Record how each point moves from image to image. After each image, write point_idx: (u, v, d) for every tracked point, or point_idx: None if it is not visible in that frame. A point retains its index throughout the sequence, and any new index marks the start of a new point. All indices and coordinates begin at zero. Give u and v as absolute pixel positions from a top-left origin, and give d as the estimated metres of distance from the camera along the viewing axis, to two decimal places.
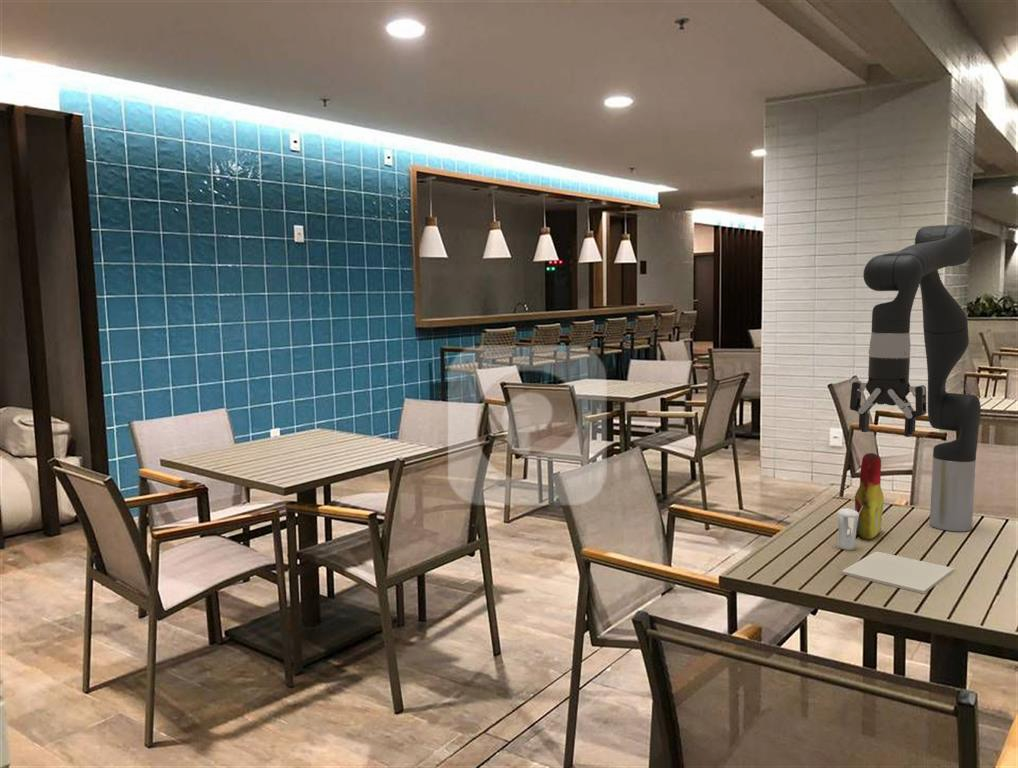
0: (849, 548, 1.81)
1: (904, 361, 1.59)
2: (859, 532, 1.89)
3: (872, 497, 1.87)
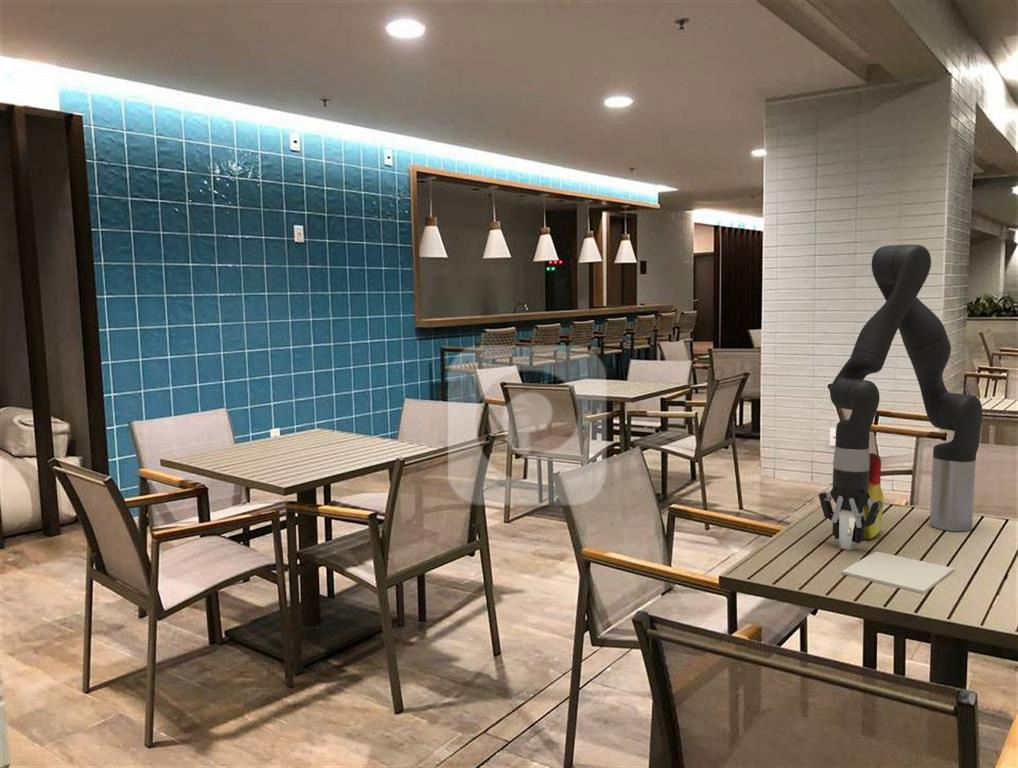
0: (849, 548, 1.81)
1: (863, 474, 1.77)
2: None
3: (872, 497, 1.87)
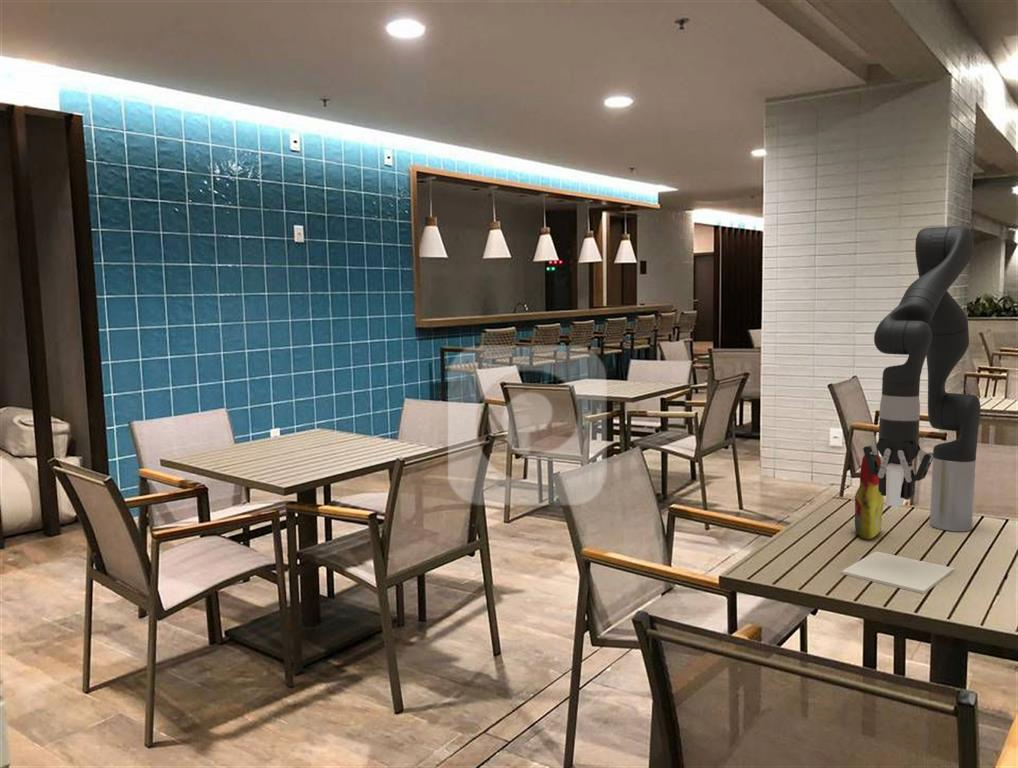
0: (897, 505, 1.67)
1: (914, 423, 1.63)
2: (859, 532, 1.89)
3: (872, 497, 1.87)
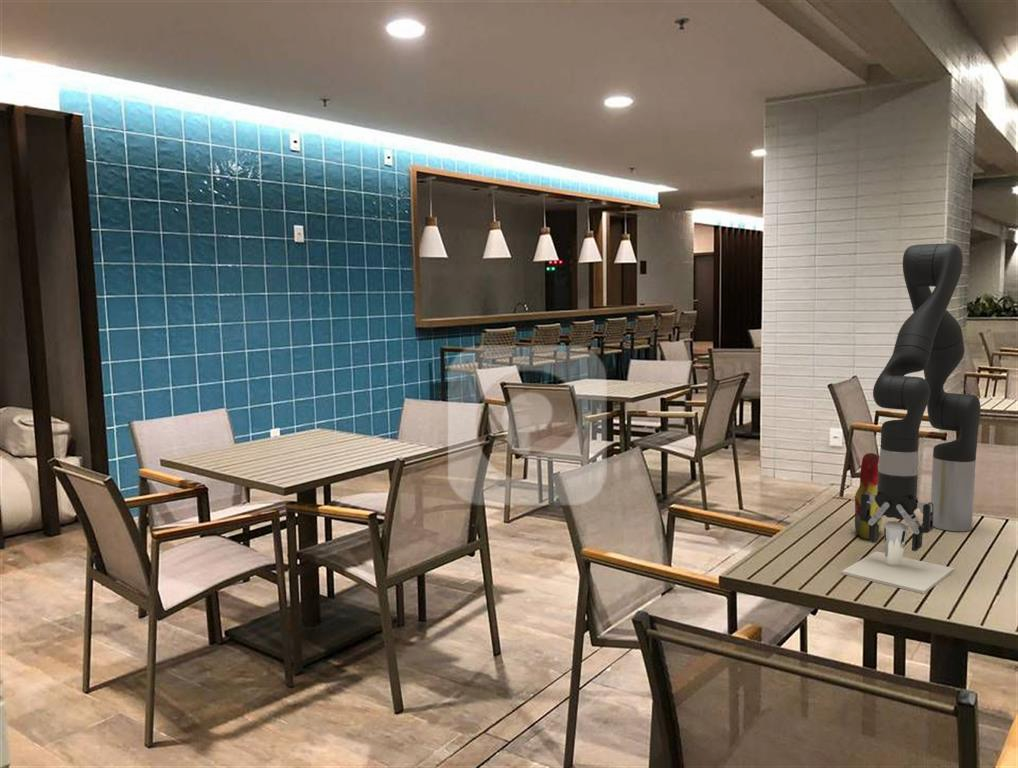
0: (896, 564, 1.68)
1: (912, 479, 1.64)
2: (859, 532, 1.89)
3: None
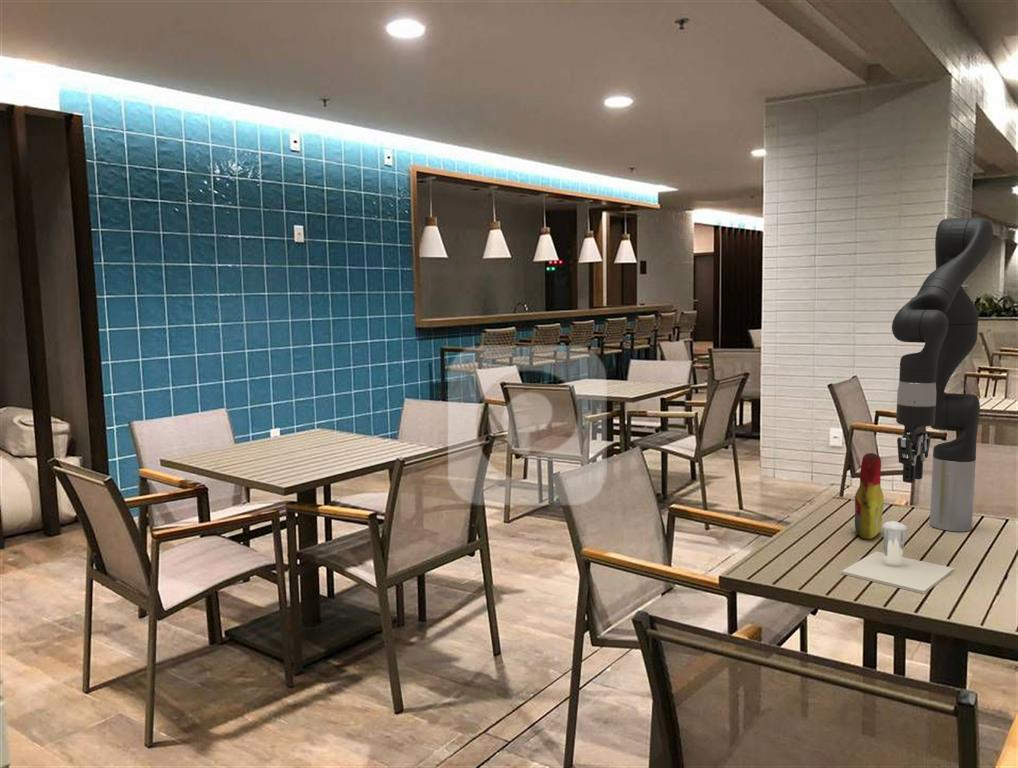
0: (895, 564, 1.68)
1: (903, 408, 1.71)
2: (859, 532, 1.89)
3: (872, 497, 1.87)
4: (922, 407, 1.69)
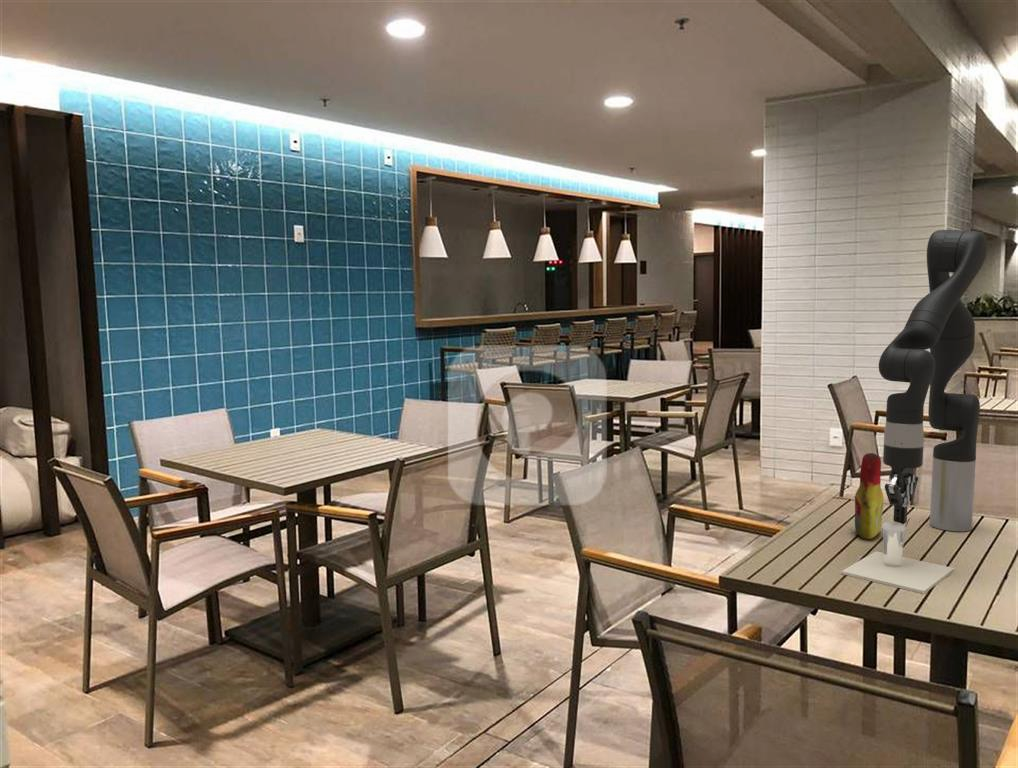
0: (895, 564, 1.68)
1: (890, 449, 1.67)
2: (859, 532, 1.89)
3: (872, 497, 1.87)
4: (909, 449, 1.65)
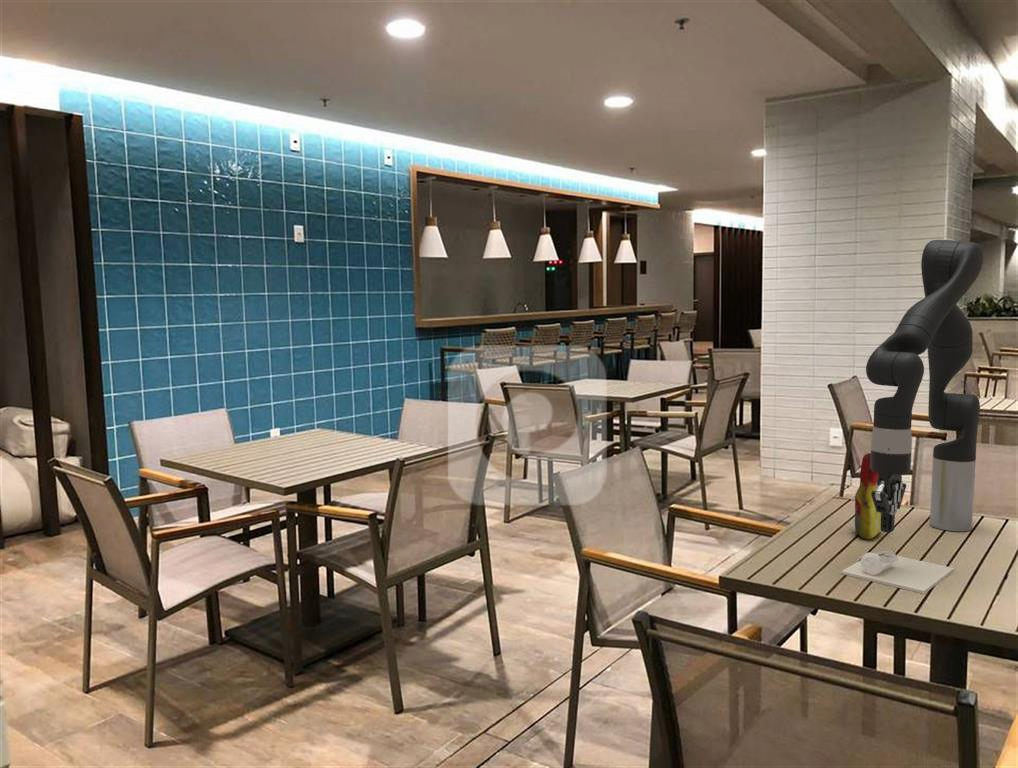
0: None
1: (877, 455, 1.63)
2: (859, 532, 1.89)
3: None
4: (897, 455, 1.60)
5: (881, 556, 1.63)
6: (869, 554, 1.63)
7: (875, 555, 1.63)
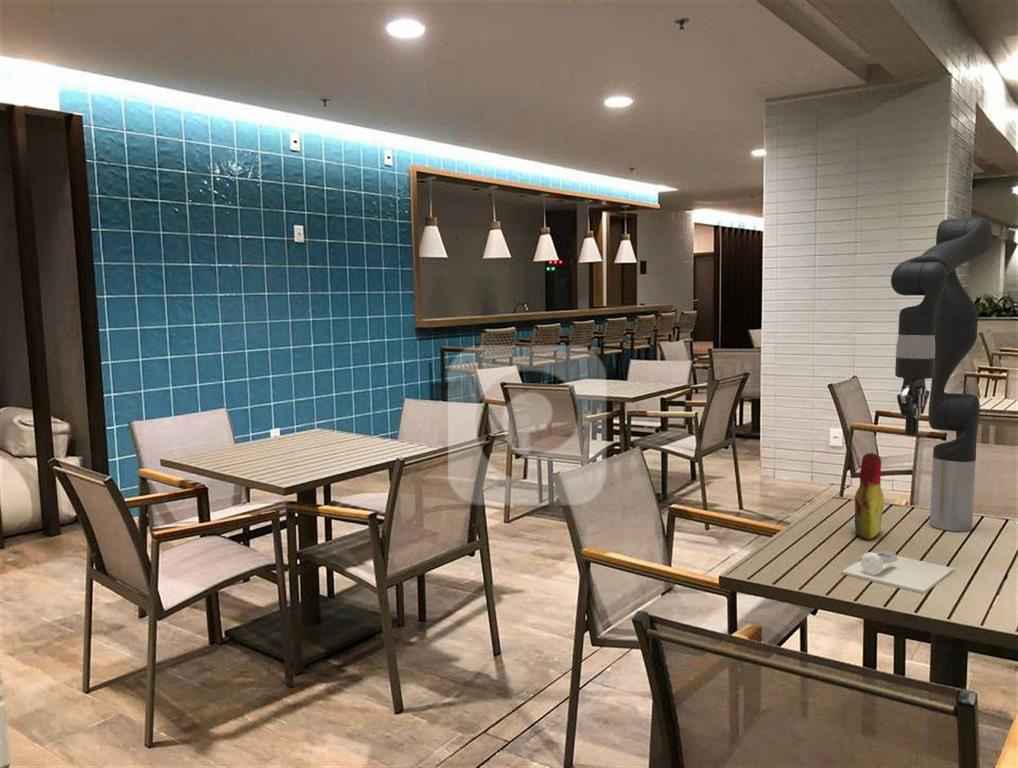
0: None
1: (902, 361, 1.71)
2: (859, 532, 1.89)
3: (872, 497, 1.87)
4: (921, 359, 1.69)
5: (881, 556, 1.63)
6: (869, 554, 1.63)
7: (875, 555, 1.63)
